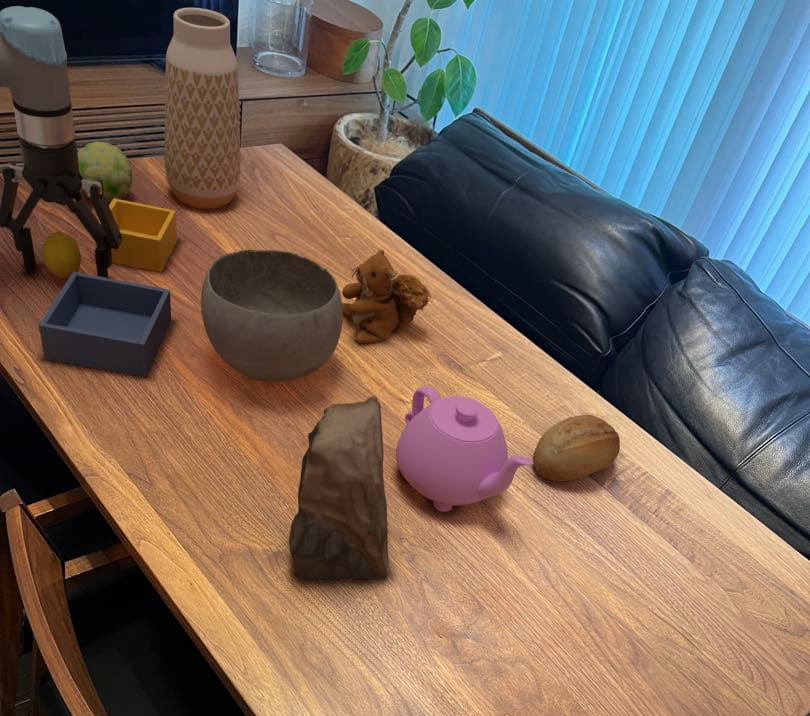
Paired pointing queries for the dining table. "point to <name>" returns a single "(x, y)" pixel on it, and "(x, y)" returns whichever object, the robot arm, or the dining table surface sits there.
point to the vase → (202, 110)
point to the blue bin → (106, 324)
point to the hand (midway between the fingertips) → (67, 276)
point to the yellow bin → (143, 234)
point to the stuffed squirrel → (382, 299)
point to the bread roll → (576, 448)
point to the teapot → (454, 450)
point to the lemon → (61, 254)
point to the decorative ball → (106, 168)
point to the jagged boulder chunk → (342, 497)
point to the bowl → (271, 313)
